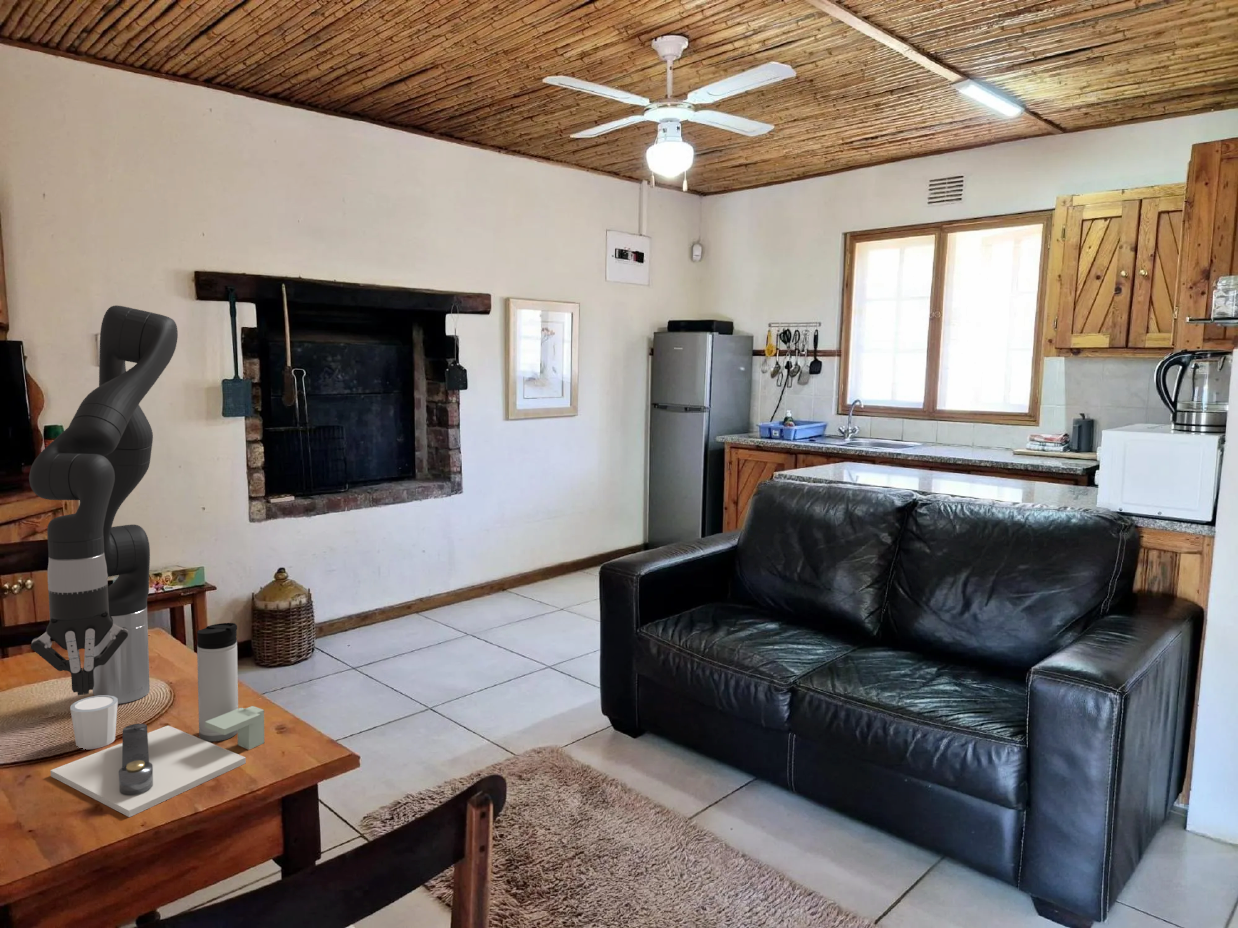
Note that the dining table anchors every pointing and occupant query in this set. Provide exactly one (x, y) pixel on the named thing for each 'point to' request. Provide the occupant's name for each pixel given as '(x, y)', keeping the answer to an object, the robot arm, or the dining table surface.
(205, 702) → the travel mug
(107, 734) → the white cup
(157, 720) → the dining table surface
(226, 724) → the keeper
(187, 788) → the base plate
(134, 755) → the link
